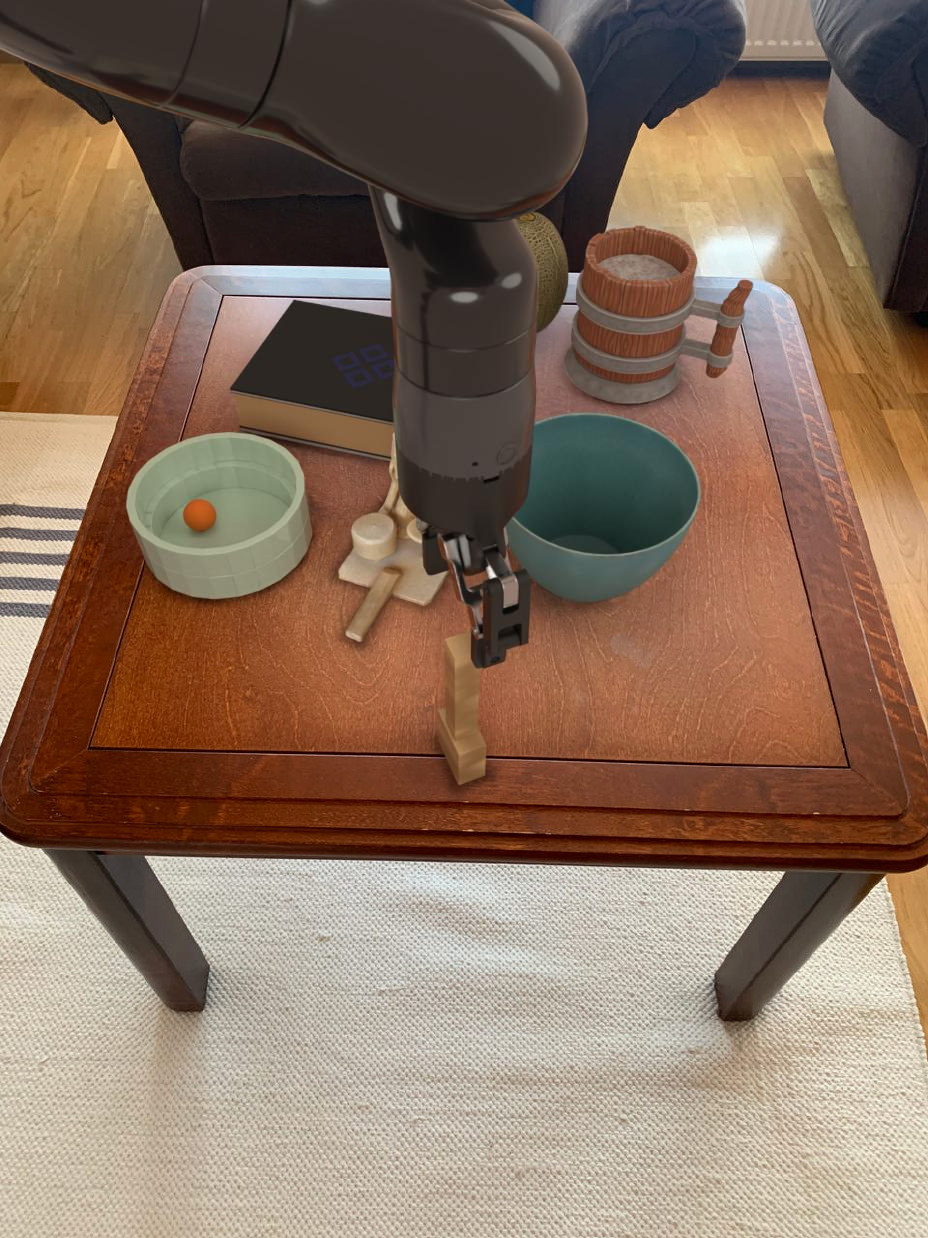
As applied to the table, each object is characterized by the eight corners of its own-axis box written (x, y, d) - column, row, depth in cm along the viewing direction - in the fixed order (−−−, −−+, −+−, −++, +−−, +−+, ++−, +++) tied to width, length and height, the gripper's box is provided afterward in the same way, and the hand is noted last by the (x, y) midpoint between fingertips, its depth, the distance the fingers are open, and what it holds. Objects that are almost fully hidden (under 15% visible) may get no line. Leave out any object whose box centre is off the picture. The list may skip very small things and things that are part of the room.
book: (301, 347, 113) (293, 298, 108) (497, 384, 109) (499, 335, 103) (240, 436, 102) (229, 387, 97) (455, 481, 98) (455, 433, 93)
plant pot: (667, 509, 96) (691, 416, 86) (682, 649, 84) (711, 560, 75) (493, 500, 96) (497, 407, 87) (485, 638, 85) (488, 548, 75)
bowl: (164, 625, 86) (144, 575, 80) (132, 508, 95) (112, 457, 90) (334, 574, 90) (326, 524, 84) (287, 467, 99) (277, 415, 94)
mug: (583, 325, 116) (598, 209, 104) (734, 361, 112) (768, 245, 100) (547, 389, 108) (559, 272, 96) (709, 431, 104) (741, 313, 92)
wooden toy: (405, 475, 99) (399, 370, 88) (493, 505, 96) (498, 399, 85) (298, 621, 86) (276, 518, 76) (395, 659, 84) (387, 558, 73)
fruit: (567, 356, 112) (580, 240, 100) (475, 357, 112) (477, 241, 100) (557, 303, 119) (569, 189, 107) (471, 304, 119) (473, 189, 107)
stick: (458, 785, 76) (459, 674, 63) (438, 741, 78) (435, 626, 66) (485, 775, 76) (491, 663, 64) (464, 732, 79) (466, 616, 66)
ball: (190, 541, 91) (183, 519, 89) (184, 520, 93) (176, 497, 91) (222, 532, 92) (216, 510, 90) (215, 511, 94) (208, 488, 91)
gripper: (355, 365, 52) (375, 556, 65) (448, 533, 44) (451, 714, 57) (476, 336, 54) (473, 527, 67) (587, 492, 46) (559, 676, 59)
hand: (463, 613), depth 62 cm, fingers open, 8 cm apart
